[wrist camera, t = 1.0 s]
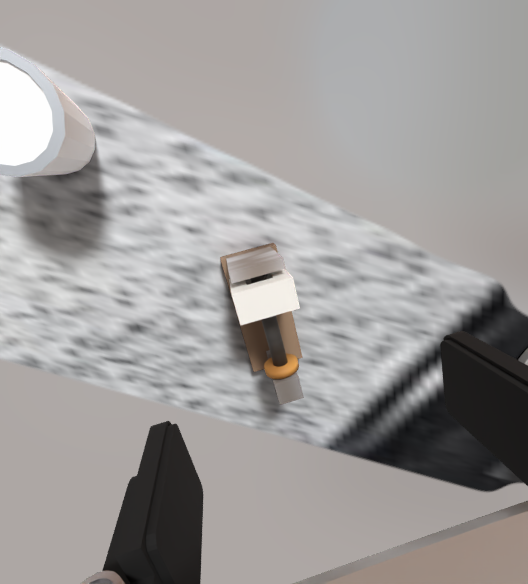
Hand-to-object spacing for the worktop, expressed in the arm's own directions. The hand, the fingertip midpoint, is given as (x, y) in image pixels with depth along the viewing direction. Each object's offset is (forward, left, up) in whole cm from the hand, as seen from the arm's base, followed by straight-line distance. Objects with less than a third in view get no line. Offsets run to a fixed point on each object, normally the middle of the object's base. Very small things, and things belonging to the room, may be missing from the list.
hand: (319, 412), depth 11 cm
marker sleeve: (0, 0, -17) cm, 17 cm away
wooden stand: (0, +3, -21) cm, 21 cm away
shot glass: (+12, -15, -21) cm, 28 cm away
